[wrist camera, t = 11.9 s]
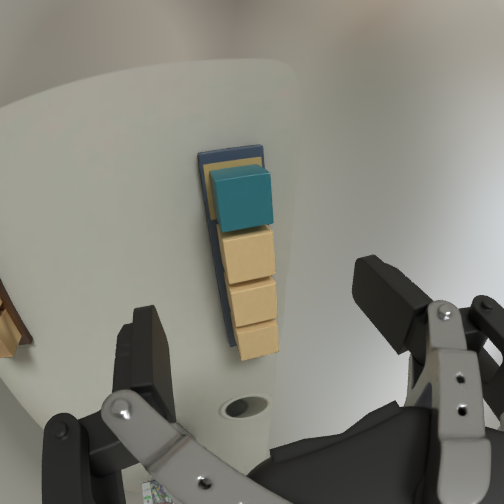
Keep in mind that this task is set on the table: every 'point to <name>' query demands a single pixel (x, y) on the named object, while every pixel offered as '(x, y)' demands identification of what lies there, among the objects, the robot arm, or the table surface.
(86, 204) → the table surface
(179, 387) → the table surface
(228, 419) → the table surface
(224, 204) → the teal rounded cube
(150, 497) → the ink box
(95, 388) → the table surface
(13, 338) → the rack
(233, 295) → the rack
